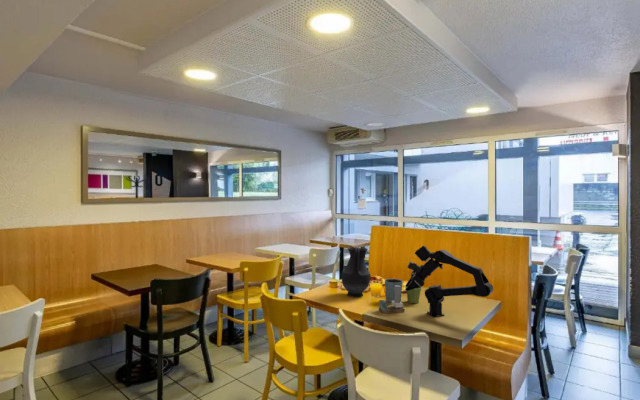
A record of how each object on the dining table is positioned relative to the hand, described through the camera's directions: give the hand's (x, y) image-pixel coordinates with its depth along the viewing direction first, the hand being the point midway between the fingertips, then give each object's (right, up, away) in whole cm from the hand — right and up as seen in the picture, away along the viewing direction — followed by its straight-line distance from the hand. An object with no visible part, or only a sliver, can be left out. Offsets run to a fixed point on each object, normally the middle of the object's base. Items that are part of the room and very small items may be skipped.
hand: (405, 288), depth 191 cm
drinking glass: (-3, -12, +18) cm, 22 cm away
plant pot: (+8, -13, +18) cm, 24 cm away
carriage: (-5, -9, 0) cm, 10 cm away
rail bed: (-7, -12, 0) cm, 14 cm away
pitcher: (-24, -12, +28) cm, 38 cm away
